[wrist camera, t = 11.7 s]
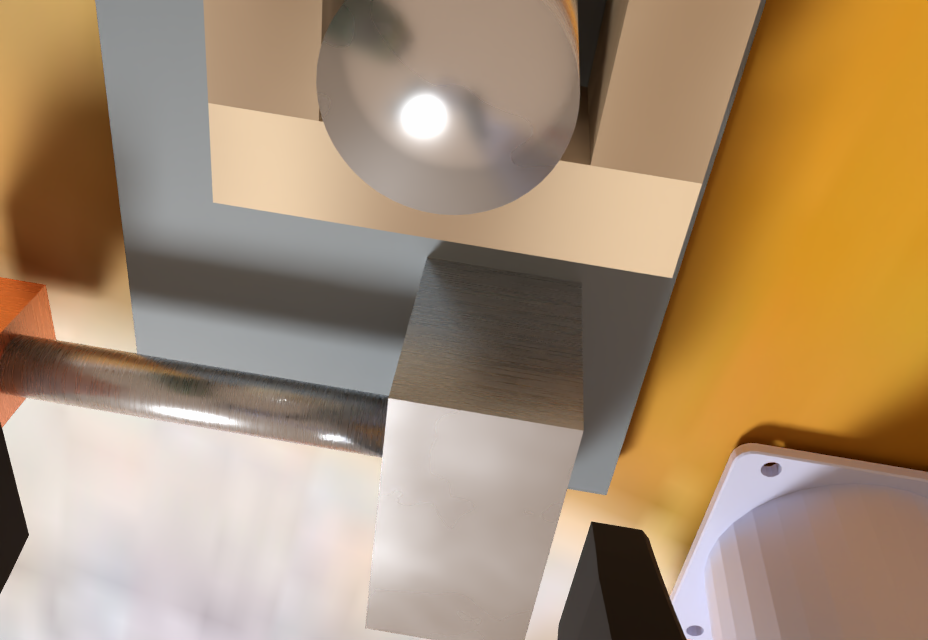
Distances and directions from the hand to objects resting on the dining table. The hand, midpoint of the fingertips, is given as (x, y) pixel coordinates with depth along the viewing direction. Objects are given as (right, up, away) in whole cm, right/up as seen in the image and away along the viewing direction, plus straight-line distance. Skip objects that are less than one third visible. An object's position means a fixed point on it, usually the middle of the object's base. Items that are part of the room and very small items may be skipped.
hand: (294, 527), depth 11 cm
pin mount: (+3, +1, +10) cm, 11 cm away
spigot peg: (+3, +9, +5) cm, 11 cm away
